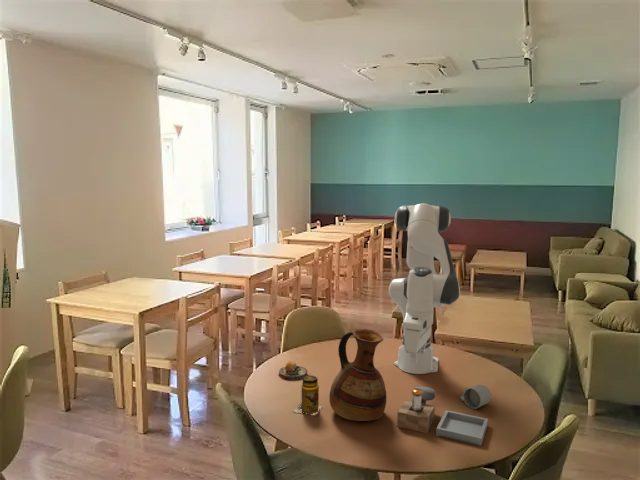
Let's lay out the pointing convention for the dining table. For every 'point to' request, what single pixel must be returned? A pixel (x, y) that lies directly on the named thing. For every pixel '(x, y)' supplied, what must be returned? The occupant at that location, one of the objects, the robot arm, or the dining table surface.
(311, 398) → the condiment
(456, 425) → the tray
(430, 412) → the block
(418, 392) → the pin
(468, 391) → the ceramic mug
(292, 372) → the burger
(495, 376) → the dining table surface
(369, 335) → the ceramic pitcher
